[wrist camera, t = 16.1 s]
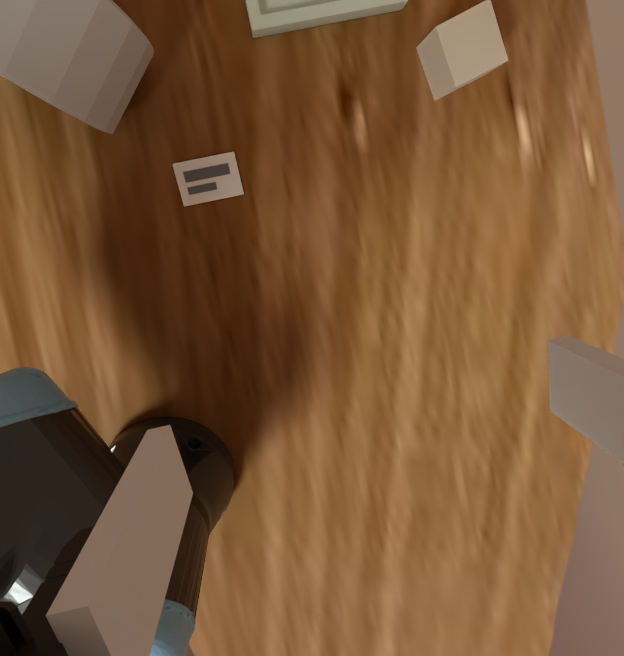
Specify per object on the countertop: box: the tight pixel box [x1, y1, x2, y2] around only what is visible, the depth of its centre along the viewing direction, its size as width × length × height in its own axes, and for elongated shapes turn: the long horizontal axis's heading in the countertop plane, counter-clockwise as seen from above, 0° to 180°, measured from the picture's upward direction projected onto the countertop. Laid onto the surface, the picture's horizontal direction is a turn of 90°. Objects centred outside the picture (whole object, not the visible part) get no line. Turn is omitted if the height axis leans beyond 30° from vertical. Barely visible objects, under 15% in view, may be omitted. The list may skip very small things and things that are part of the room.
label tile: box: [172, 152, 244, 207], centre depth 41 cm, size 6×4×1 cm, turn 101°
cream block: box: [416, 0, 508, 101], centre depth 38 cm, size 5×5×5 cm
